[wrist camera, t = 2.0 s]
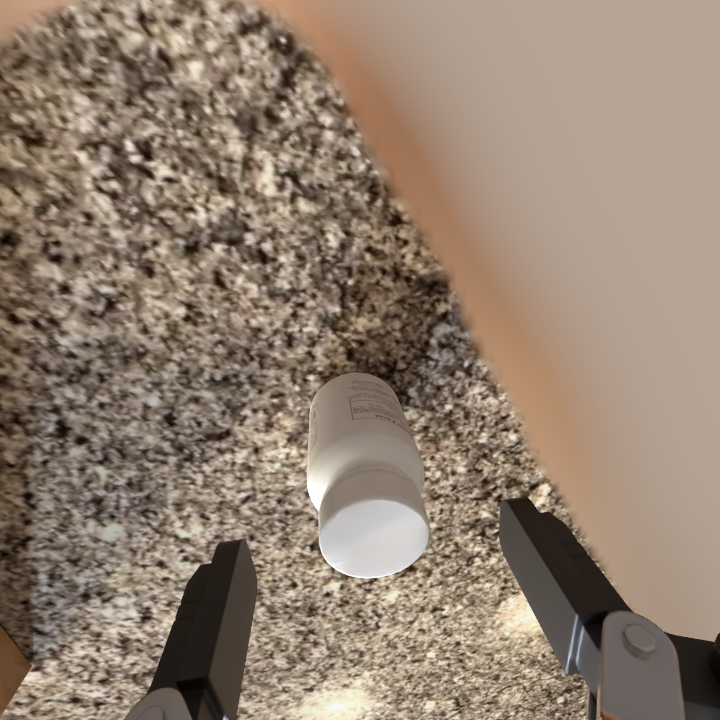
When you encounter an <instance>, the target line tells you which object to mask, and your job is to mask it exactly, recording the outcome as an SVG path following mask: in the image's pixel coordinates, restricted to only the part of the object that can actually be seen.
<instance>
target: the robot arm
mask: <svg viewBox="0 0 720 720" xmlns="http://www.w3.org/2000/svg"><path fill="white" fill-rule="evenodd" d="M499 540H500V545H501V548H502V551H503V554H504V556H505V558H506V560H507V562H508V564H509V566H510V568H511V570H512V572H513V574H514V576H515V578H516V580H517V582H518V583H519V585H520V587H521V589H522V591H523V593H524V595H525V597H526V599H527V601H528V603H529V605H530V607H531V609H532V610H533V612H534V614H535V616H536V618H537V620H538V622H539V624H540V626H541V628H542V630H543V632H544V634H545V636H546V637H547V639H548V641H549V643H550V645H551V647H552V649H553V651H554V653H555V655H556V657H557V659H558V661H559V663H560V664H561V666H562V668H563V670H564V672H565V674H566V675H572V674H578V673H581V675H582V677H583V678H584V680H585V682H586V684H587V686H588V691H587V705H586V720H720V633H719V634H718V635H717V638H716V640H715V642H711V641H706V640H700V639H694V638H688V637H682V636H677V635H673V634H669V633H666V632H663V631H662V630H661V629H660V628H659V627H658V626H657V625H656V624H654V623H653V622H652V621H650V620H648V619H647V618H645V617H643V616H641V615H639V614H636V613H634V612H633V611H632V610H631V609H630V608H629V607H628V606H627V605H626V603H625V602H624V601H623V599H622V598H621V597H620V595H619V594H618V593H617V591H616V590H615V589H614V588H613V586H612V585H611V584H610V582H609V581H608V580H607V578H606V577H605V576H604V574H603V573H602V572H601V570H600V569H599V568H598V567H597V565H596V564H595V563H594V561H593V560H592V559H591V557H590V556H588V555H587V552H586V551H585V549H584V548H583V547H582V546H581V544H580V543H578V542H577V539H576V538H575V536H574V535H573V534H572V532H571V531H570V530H569V528H568V527H567V526H566V525H565V524H564V523H563V522H562V521H560V520H559V519H558V518H556V517H555V516H554V515H552V514H551V513H549V512H544V513H539V512H538V510H537V509H536V507H535V506H534V504H533V503H532V502H531V500H530V499H529V498H527V497H520V498H514V499H507V500H502V502H501V509H500V527H499ZM256 596H257V575H256V571H255V568H254V564H253V561H252V558H251V554H250V551H249V548H248V545H247V542H246V540H245V539H240V540H233V541H227V542H220V543H219V544H218V545H217V547H216V550H215V553H214V557H213V560H212V563H210V564H203V565H200V567H199V568H198V569H197V571H196V572H195V573H194V575H193V576H192V577H191V579H190V580H189V581H188V583H187V586H186V589H185V592H184V595H183V597H182V600H181V605H180V606H179V609H178V611H177V614H176V617H175V618H176V620H175V621H174V623H173V625H172V628H171V631H170V634H169V637H168V639H167V642H166V645H165V648H164V651H163V653H162V656H161V659H160V662H159V665H158V667H157V670H156V673H155V676H154V679H153V681H152V684H151V686H150V689H149V691H148V693H147V694H146V696H145V697H143V698H142V699H141V700H140V701H139V702H138V703H136V705H135V706H134V707H133V708H132V709H131V710H130V712H129V713H128V714H127V715H126V717H125V719H124V720H236V715H237V709H238V703H239V697H240V691H241V685H242V679H243V673H244V668H245V662H246V656H247V650H248V644H249V638H250V632H251V626H252V620H253V614H254V608H255V602H256Z"/></svg>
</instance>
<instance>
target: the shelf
mask: <svg viewBox="0 0 720 720" xmlns="http://www.w3.org/2000/svg"><path fill="white" fill-rule="evenodd" d="M31 667H32V665H31V664H30V663H29V661H28V660H27V659H26V657H25V656H24V655H23V654H22V652H21V651H20V650H19V648H18V647H17V646H16V645H15V643H14V642H13V641H12V639H11V638H10V637H9V635H8V634H7V633H6V632H5V630H4V629H3V628H2V626H1V625H0V717H1V715H2V714H3V712H4V710H5V709H6V707H7V705H8V704H9V702H10V701H11V699H12V697H13V696H14V694H15V693H16V691H17V689H18V688H19V686H20V685H21V683H22V681H23V680H24V678H25V677H26V675H27V673H28V672H29V670H30V668H31Z"/></svg>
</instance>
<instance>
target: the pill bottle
mask: <svg viewBox="0 0 720 720" xmlns="http://www.w3.org/2000/svg"><path fill="white" fill-rule="evenodd" d="M424 478H425V473H424V466H423V462H422V459H421V456H420V453H419V451H418V448H417V446H416V443H415V441H414V439H413V436H412V434H411V431H410V428H409V426H408V423H407V421H406V418H405V415H404V413H403V410H402V408H401V405H400V403H399V400H398V398H397V396H396V394H395V392H394V391H393V389H392V388H391V387H390V386H389V385H388V384H387V383H386V382H384V381H383V380H382V379H380V378H378V377H376V376H373V375H370V374H366V373H357V372H353V373H347V374H343V375H340V376H337V377H335V378H333V379H331V380H330V381H328V382H327V383H326V384H324V385H323V386H322V387H321V388H320V389H319V391H318V392H317V393H316V395H315V397H314V399H313V401H312V404H311V408H310V419H309V443H308V464H307V487H308V492H309V495H310V498H311V500H312V502H313V504H314V506H315V507H316V508H317V510H318V511H319V512H318V521H319V545H320V549H321V552H322V554H323V556H324V558H325V560H326V561H327V562H328V563H329V564H330V565H331V566H332V567H333V568H335V569H336V570H338V571H339V572H342V573H344V574H346V575H349V576H353V577H359V578H378V577H382V576H388V575H391V574H394V573H397V572H399V571H401V570H403V569H405V568H407V567H408V566H409V565H411V564H412V563H413V562H414V561H416V560H417V559H418V558H419V557H420V556H421V554H422V553H423V552H424V550H425V548H426V546H427V544H428V541H429V537H430V526H429V521H428V518H427V514H426V510H425V507H424V503H423V500H422V497H421V495H420V494H421V492H422V489H423V485H424Z"/></svg>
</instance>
